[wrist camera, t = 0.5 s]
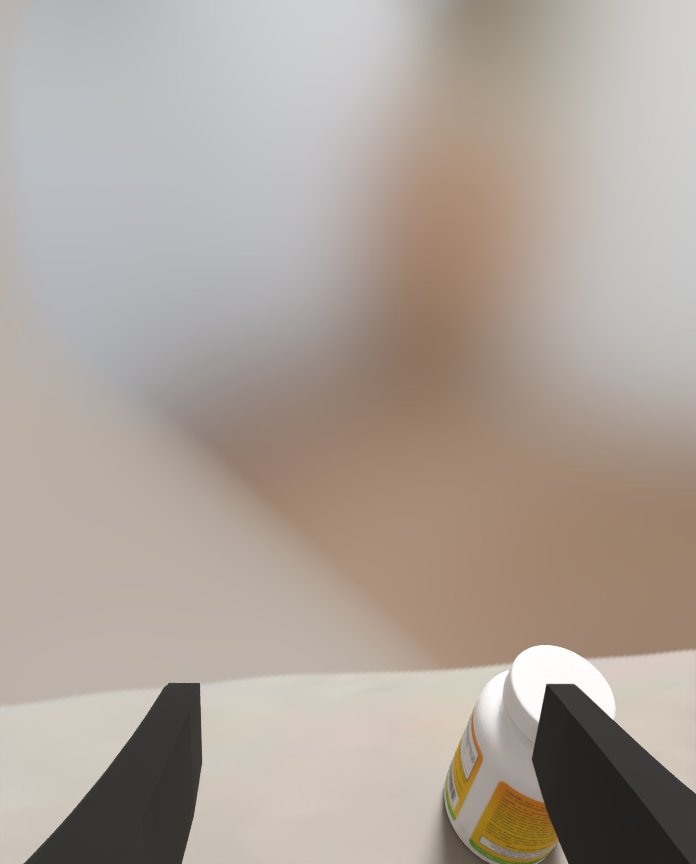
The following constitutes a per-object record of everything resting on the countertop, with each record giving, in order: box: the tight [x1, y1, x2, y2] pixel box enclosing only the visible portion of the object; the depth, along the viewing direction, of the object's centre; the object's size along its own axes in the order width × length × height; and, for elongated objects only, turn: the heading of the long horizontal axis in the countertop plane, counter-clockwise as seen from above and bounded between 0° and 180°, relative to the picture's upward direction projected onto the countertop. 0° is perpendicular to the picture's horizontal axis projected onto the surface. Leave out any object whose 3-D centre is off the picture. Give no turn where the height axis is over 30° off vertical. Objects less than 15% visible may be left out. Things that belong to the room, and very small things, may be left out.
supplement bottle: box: [444, 645, 616, 864], centre depth 26 cm, size 5×5×10 cm
